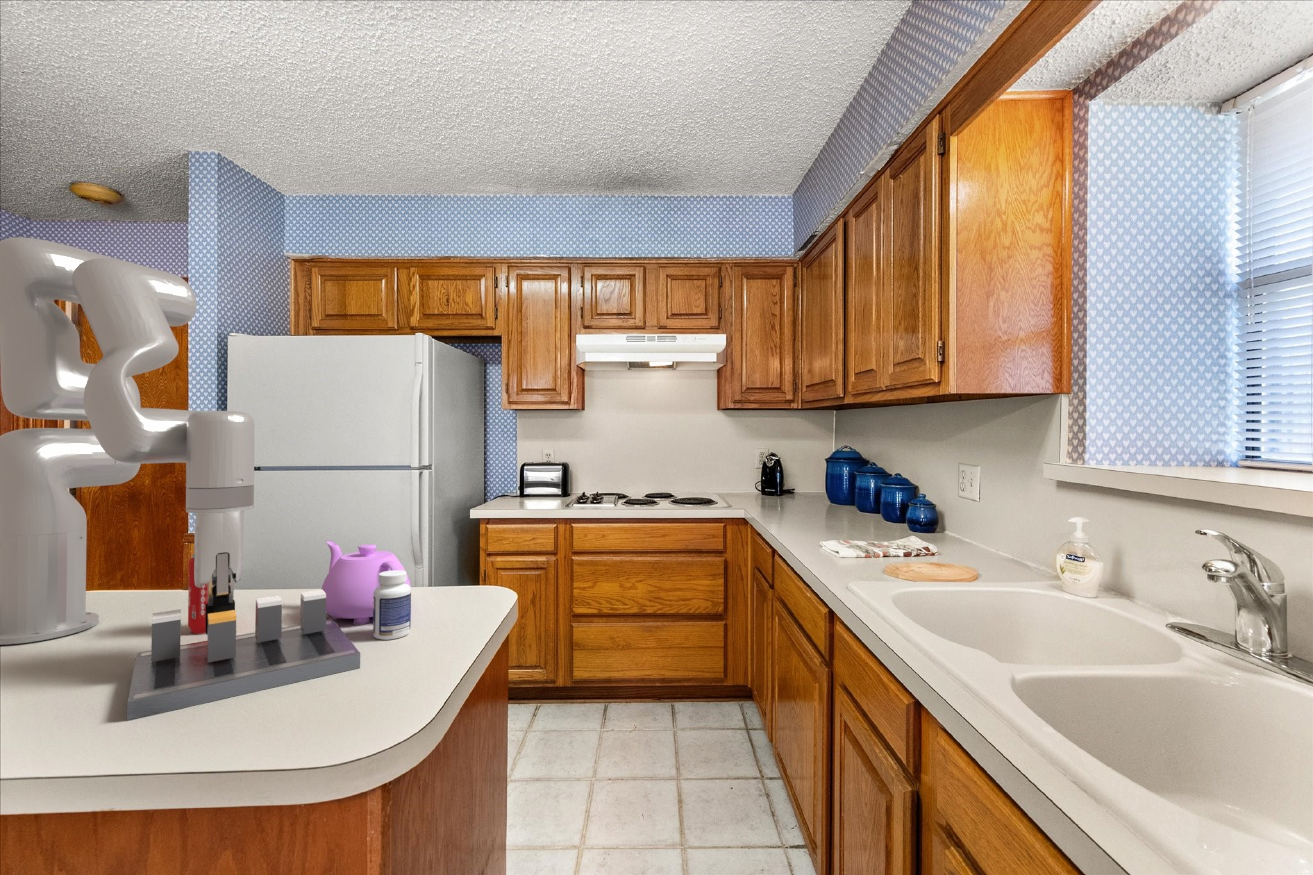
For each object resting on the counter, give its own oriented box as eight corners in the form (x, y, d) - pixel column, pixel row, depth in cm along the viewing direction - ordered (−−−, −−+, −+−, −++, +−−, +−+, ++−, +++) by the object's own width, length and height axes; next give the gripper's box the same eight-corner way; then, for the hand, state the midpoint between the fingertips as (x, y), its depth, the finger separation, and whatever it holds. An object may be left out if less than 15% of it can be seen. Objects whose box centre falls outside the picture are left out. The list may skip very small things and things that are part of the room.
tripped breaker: (207, 655, 74) (207, 613, 74) (234, 650, 76) (234, 609, 76) (208, 662, 72) (208, 619, 72) (235, 657, 74) (236, 615, 74)
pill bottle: (418, 632, 91) (419, 571, 91) (389, 642, 86) (390, 578, 86) (394, 626, 93) (394, 567, 93) (365, 637, 88) (365, 574, 88)
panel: (136, 667, 76) (136, 652, 76) (332, 631, 90) (332, 618, 90) (127, 720, 62) (127, 701, 62) (360, 667, 77) (360, 652, 77)
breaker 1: (152, 654, 74) (152, 613, 74) (180, 649, 76) (180, 609, 76) (151, 661, 72) (151, 619, 72) (180, 656, 74) (180, 614, 74)
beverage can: (206, 636, 88) (207, 558, 88) (179, 633, 89) (180, 556, 89) (237, 625, 93) (238, 551, 93) (211, 622, 94) (212, 550, 94)
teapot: (287, 615, 98) (288, 545, 98) (363, 596, 111) (364, 533, 111) (361, 636, 89) (362, 558, 89) (435, 612, 101) (436, 543, 101)
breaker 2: (255, 636, 81) (255, 598, 81) (278, 632, 83) (279, 595, 83) (257, 642, 79) (257, 603, 79) (281, 638, 81) (282, 600, 81)
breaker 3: (300, 628, 85) (300, 592, 85) (321, 624, 86) (322, 589, 86) (303, 634, 82) (304, 596, 82) (325, 630, 84) (326, 593, 84)
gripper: (185, 497, 83) (184, 623, 83) (186, 506, 71) (185, 653, 71) (248, 493, 87) (248, 613, 87) (259, 502, 76) (258, 640, 76)
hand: (220, 631), depth 79 cm, fingers closed
